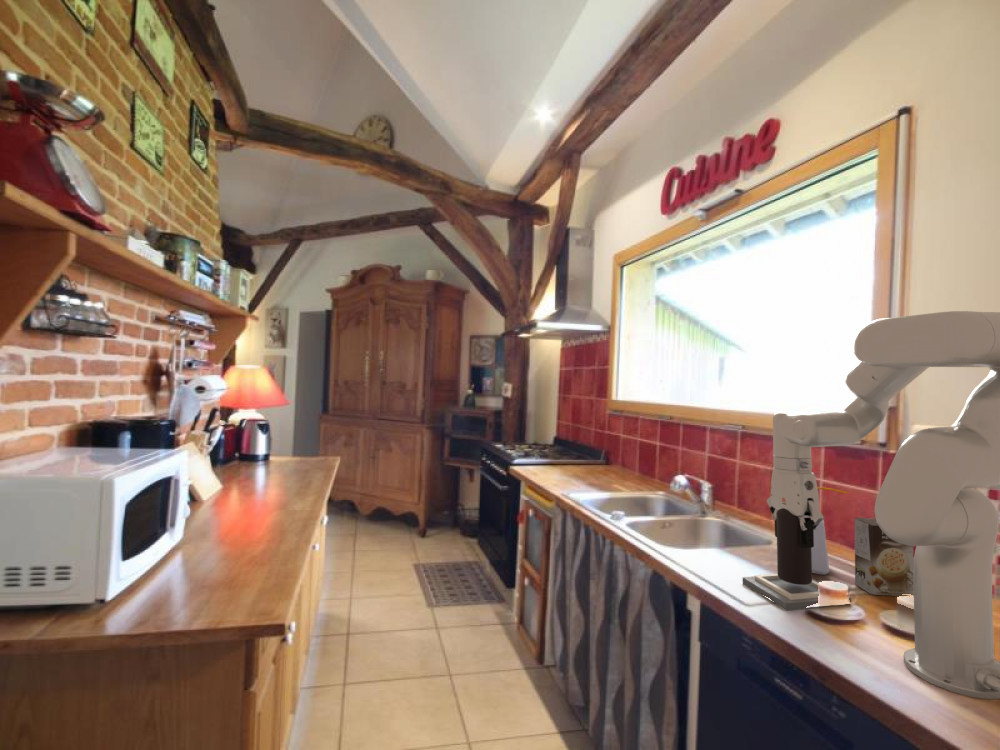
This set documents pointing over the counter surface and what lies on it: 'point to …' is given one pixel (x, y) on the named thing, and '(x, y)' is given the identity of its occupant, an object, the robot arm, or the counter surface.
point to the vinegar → (792, 550)
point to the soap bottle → (820, 546)
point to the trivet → (784, 591)
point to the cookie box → (881, 561)
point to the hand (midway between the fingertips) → (793, 541)
